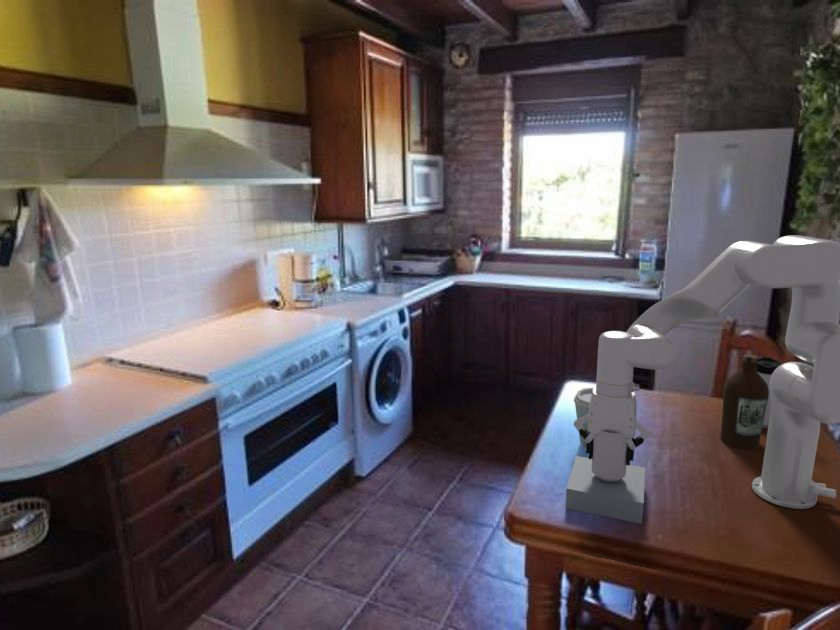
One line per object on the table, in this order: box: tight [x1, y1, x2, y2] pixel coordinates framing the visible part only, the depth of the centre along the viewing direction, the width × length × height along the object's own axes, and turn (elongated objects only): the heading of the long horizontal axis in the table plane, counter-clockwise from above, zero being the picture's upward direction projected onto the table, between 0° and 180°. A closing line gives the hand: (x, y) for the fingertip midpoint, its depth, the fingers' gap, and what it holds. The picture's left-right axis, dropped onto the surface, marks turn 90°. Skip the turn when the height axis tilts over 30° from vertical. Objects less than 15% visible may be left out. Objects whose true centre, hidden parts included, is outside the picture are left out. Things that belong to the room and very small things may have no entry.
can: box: [592, 430, 628, 481], centre depth 125 cm, size 8×8×12 cm
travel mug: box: [756, 356, 782, 429], centre depth 162 cm, size 6×7×20 cm
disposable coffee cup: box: [573, 387, 595, 448], centre depth 152 cm, size 11×11×15 cm
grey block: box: [565, 455, 646, 525], centre depth 128 cm, size 16×16×5 cm
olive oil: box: [719, 354, 769, 450], centre depth 151 cm, size 11×11×25 cm
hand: (609, 459), depth 126 cm, fingers closed on can, 7 cm apart
